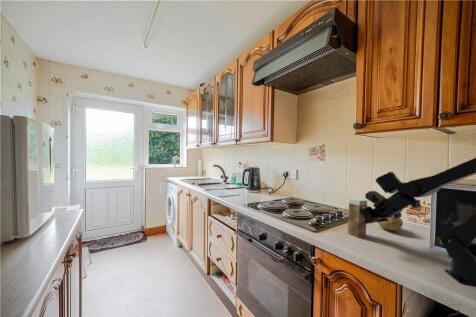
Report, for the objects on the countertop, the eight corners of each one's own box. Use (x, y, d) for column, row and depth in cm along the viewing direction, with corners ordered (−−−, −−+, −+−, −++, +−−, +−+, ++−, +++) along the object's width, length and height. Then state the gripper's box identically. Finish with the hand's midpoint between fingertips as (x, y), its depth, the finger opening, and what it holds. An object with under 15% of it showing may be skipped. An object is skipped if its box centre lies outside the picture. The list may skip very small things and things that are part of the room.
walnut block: (365, 236, 89) (367, 200, 88) (358, 237, 87) (359, 201, 86) (355, 232, 93) (356, 197, 93) (347, 233, 91) (349, 198, 91)
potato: (390, 225, 105) (391, 210, 104) (408, 235, 91) (409, 218, 90) (370, 223, 106) (370, 208, 106) (384, 233, 92) (385, 216, 92)
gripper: (394, 185, 85) (367, 204, 95) (365, 186, 77) (339, 207, 88) (416, 208, 78) (384, 226, 88) (385, 212, 70) (355, 232, 81)
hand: (365, 222), depth 86 cm, fingers closed
